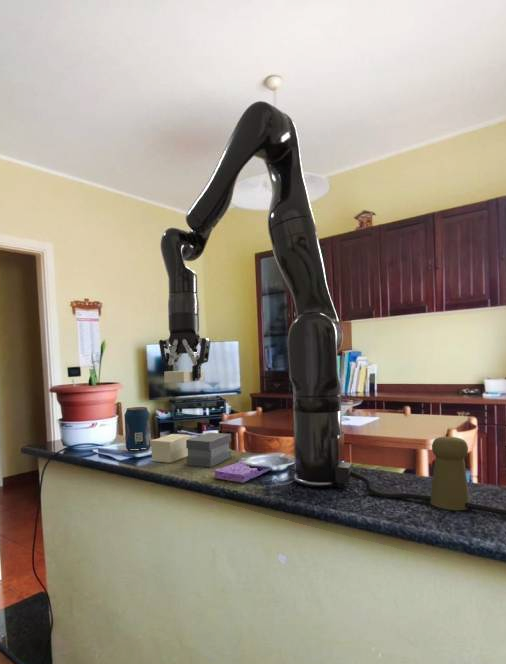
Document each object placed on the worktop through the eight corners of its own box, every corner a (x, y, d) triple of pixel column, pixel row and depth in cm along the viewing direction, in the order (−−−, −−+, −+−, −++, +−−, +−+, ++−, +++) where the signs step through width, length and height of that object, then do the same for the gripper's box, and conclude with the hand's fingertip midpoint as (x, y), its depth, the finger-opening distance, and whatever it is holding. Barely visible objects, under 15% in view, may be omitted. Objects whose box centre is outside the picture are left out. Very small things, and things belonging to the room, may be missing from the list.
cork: (455, 512, 66) (455, 442, 66) (421, 501, 72) (421, 436, 71) (479, 505, 69) (479, 438, 68) (444, 495, 74) (444, 432, 74)
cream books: (191, 454, 113) (191, 434, 113) (170, 463, 104) (169, 441, 104) (173, 452, 116) (172, 433, 116) (150, 461, 107) (149, 440, 107)
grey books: (232, 457, 109) (231, 433, 108) (211, 467, 99) (210, 441, 98) (208, 455, 112) (207, 432, 112) (185, 465, 102) (184, 440, 102)
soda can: (125, 449, 123) (124, 407, 122) (150, 447, 124) (148, 406, 124) (126, 454, 116) (124, 410, 115) (152, 452, 118) (150, 408, 117)
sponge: (214, 478, 89) (214, 470, 89) (246, 465, 100) (246, 457, 99) (242, 483, 85) (242, 474, 85) (273, 469, 95) (272, 461, 95)
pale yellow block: (204, 380, 110) (204, 370, 110) (184, 382, 101) (183, 371, 101) (186, 380, 113) (186, 370, 113) (164, 382, 104) (164, 371, 104)
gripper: (150, 313, 106) (152, 381, 107) (201, 309, 99) (202, 381, 101) (168, 315, 113) (169, 379, 114) (216, 312, 106) (217, 379, 107)
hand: (185, 380), depth 107 cm, fingers closed on pale yellow block, 5 cm apart
